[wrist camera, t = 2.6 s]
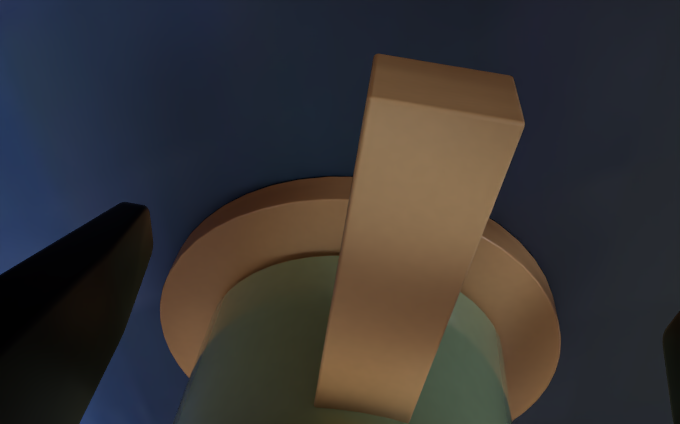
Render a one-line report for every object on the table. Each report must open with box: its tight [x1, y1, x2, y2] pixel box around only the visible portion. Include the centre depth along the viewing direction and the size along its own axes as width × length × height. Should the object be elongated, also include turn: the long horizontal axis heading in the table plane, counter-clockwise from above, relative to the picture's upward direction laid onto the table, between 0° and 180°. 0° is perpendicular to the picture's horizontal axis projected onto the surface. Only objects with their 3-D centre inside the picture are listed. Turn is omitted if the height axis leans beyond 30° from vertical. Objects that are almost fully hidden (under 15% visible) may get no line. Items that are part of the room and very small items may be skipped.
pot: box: [173, 54, 525, 424], centre depth 16 cm, size 20×12×8 cm, turn 173°
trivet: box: [160, 177, 561, 421], centre depth 22 cm, size 15×15×1 cm
